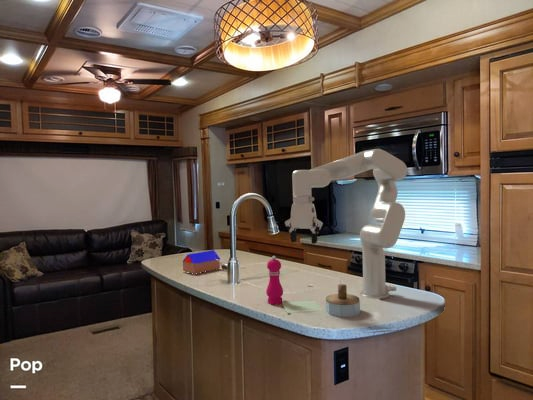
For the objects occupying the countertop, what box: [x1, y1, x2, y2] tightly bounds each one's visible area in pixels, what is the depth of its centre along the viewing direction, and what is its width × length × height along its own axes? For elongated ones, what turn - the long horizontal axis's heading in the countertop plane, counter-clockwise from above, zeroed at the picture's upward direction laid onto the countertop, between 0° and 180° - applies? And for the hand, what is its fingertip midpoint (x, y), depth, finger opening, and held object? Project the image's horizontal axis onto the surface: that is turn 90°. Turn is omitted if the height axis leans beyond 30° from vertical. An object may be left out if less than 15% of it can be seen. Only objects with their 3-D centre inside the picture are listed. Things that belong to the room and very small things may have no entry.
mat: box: [281, 300, 324, 315], centre depth 158 cm, size 14×14×1 cm
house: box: [182, 249, 221, 275], centre depth 238 cm, size 12×20×12 cm, turn 137°
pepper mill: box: [265, 255, 284, 305], centre depth 166 cm, size 7×7×20 cm
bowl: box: [325, 300, 361, 318], centre depth 149 cm, size 12×12×5 cm
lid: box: [325, 283, 360, 305], centre depth 149 cm, size 13×13×6 cm
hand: (303, 242), depth 158 cm, fingers open, 9 cm apart
